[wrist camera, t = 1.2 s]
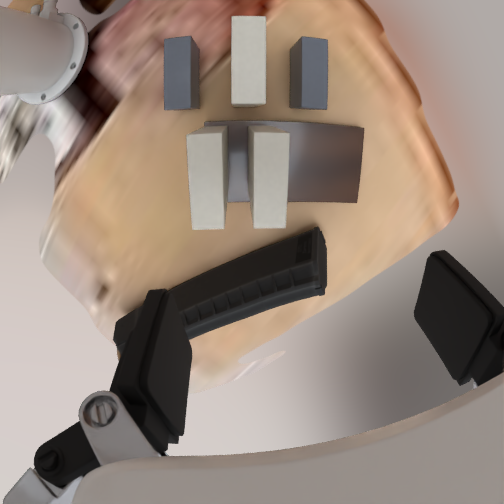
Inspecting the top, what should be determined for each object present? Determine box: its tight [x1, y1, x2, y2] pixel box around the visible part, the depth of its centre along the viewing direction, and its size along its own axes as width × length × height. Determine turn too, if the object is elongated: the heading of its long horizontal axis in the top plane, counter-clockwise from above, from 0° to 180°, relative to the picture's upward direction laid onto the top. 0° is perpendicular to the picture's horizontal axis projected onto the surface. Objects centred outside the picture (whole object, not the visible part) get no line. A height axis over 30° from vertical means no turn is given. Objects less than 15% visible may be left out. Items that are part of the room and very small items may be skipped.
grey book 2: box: [290, 36, 328, 110], centre depth 23 cm, size 7×2×6 cm, turn 0°
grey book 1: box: [164, 36, 200, 110], centre depth 23 cm, size 7×2×6 cm, turn 0°
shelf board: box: [204, 120, 364, 203], centre depth 30 cm, size 9×17×1 cm, turn 90°
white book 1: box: [186, 126, 229, 230], centre depth 24 cm, size 7×2×11 cm, turn 0°
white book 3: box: [248, 125, 290, 228], centre depth 24 cm, size 7×2×11 cm, turn 0°
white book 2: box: [231, 16, 266, 107], centre depth 21 cm, size 7×2×11 cm, turn 0°
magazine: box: [113, 227, 327, 360], centre depth 33 cm, size 17×3×30 cm
